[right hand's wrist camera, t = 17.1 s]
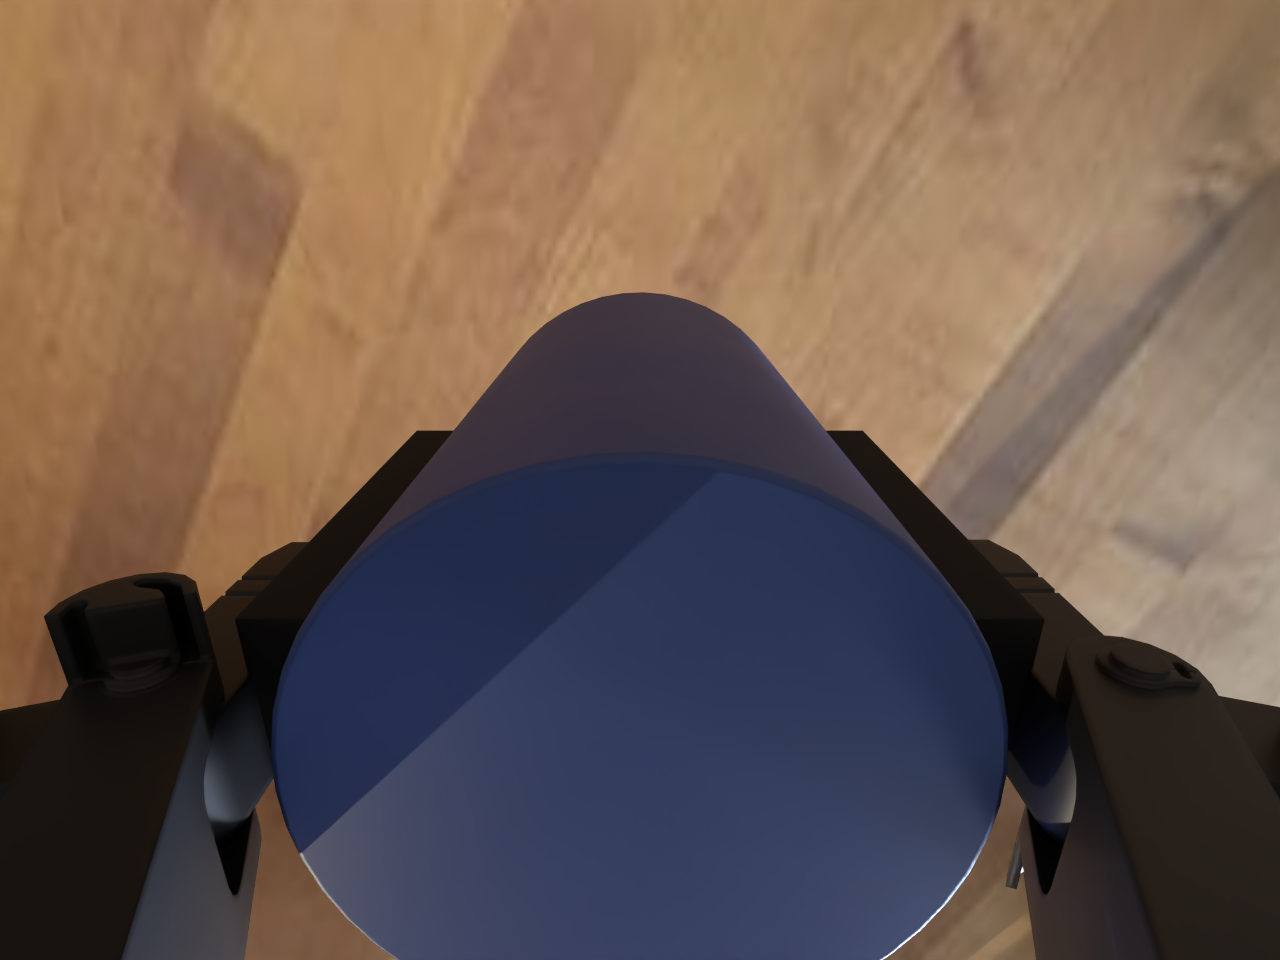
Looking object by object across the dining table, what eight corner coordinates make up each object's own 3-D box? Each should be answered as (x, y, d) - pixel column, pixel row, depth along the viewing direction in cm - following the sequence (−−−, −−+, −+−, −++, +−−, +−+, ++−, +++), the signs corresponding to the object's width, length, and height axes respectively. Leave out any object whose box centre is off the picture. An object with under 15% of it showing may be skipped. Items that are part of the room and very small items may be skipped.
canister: (851, 397, 16) (1177, 701, 6) (684, 622, 18) (735, 1103, 9) (584, 227, 15) (476, 279, 5) (439, 491, 17) (166, 886, 7)
